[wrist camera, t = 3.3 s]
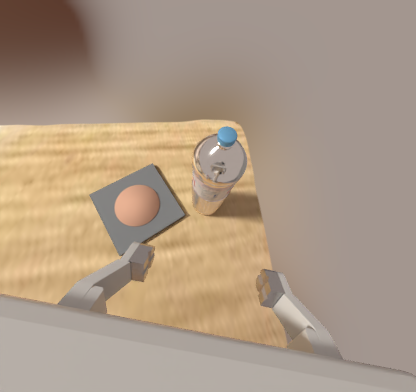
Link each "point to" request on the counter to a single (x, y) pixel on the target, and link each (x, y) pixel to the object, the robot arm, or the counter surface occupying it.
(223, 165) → the water bottle
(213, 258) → the counter surface
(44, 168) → the counter surface
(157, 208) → the spot mat
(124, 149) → the counter surface
